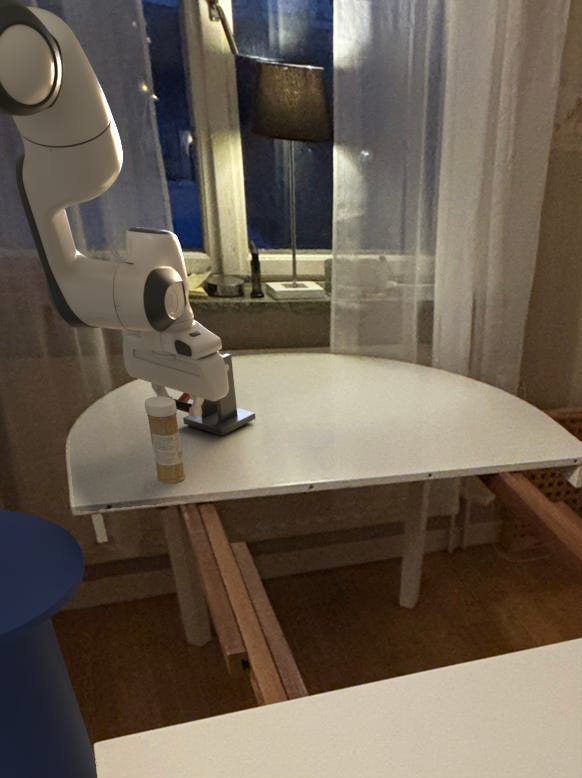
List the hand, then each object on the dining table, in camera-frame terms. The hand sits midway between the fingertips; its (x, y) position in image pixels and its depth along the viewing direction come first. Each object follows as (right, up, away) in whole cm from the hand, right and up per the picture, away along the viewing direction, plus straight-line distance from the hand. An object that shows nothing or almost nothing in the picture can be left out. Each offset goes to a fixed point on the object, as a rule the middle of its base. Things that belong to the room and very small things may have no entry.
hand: (181, 411), depth 138 cm
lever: (+2, +5, +2) cm, 6 cm away
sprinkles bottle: (+2, -14, -9) cm, 17 cm away
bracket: (+3, +1, +10) cm, 11 cm away
